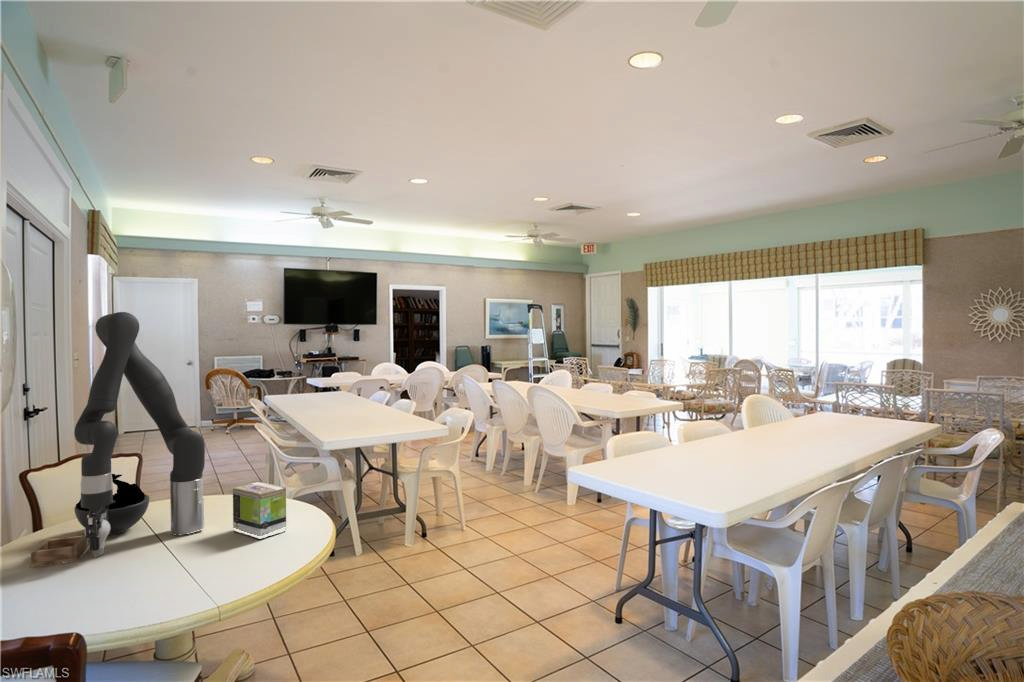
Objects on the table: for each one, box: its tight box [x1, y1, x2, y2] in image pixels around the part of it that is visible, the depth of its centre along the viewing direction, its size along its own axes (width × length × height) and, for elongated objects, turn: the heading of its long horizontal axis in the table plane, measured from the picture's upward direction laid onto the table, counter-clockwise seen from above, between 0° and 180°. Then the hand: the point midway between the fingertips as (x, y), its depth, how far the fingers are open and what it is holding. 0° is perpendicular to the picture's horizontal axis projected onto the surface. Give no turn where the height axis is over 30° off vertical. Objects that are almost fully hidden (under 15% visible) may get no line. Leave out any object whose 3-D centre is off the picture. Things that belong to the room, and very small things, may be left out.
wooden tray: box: [29, 534, 89, 568], centre depth 165 cm, size 11×11×4 cm
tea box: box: [232, 481, 287, 536], centre depth 186 cm, size 15×10×15 cm, turn 58°
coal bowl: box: [74, 473, 150, 535], centre depth 185 cm, size 20×20×19 cm
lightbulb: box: [84, 519, 111, 558], centre depth 165 cm, size 6×6×11 cm
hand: (97, 546), depth 165 cm, fingers open, 6 cm apart
